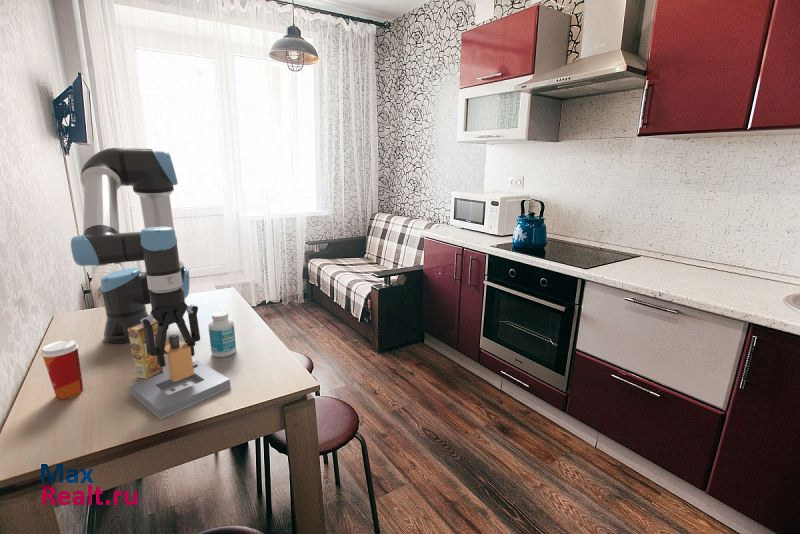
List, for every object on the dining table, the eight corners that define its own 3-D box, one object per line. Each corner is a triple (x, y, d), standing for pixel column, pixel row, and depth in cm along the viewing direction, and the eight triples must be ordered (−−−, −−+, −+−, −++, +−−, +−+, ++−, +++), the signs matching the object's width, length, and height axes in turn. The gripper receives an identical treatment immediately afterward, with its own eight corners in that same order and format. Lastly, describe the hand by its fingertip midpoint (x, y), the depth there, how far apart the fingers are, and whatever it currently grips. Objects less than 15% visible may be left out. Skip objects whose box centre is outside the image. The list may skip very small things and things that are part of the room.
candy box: (147, 380, 115) (138, 329, 111) (135, 377, 116) (126, 328, 112) (172, 365, 123) (165, 318, 119) (161, 363, 124) (154, 316, 120)
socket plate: (131, 393, 108) (129, 383, 107) (198, 367, 121) (196, 358, 121) (160, 419, 97) (158, 408, 96) (230, 387, 111) (229, 377, 110)
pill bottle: (227, 359, 127) (222, 319, 123) (206, 357, 128) (201, 317, 125) (241, 349, 134) (237, 310, 130) (221, 346, 135) (216, 309, 132)
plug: (164, 374, 108) (158, 336, 105) (183, 367, 112) (178, 330, 109) (174, 382, 104) (168, 342, 101) (194, 374, 108) (188, 336, 105)
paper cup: (65, 386, 111) (54, 339, 108) (94, 385, 112) (84, 338, 108) (43, 402, 104) (30, 352, 100) (75, 401, 104) (63, 351, 101)
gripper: (132, 300, 93) (147, 391, 99) (208, 283, 107) (218, 363, 112) (119, 294, 97) (135, 381, 103) (194, 278, 111) (204, 355, 117)
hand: (178, 371), depth 108 cm, fingers closed on plug, 5 cm apart
